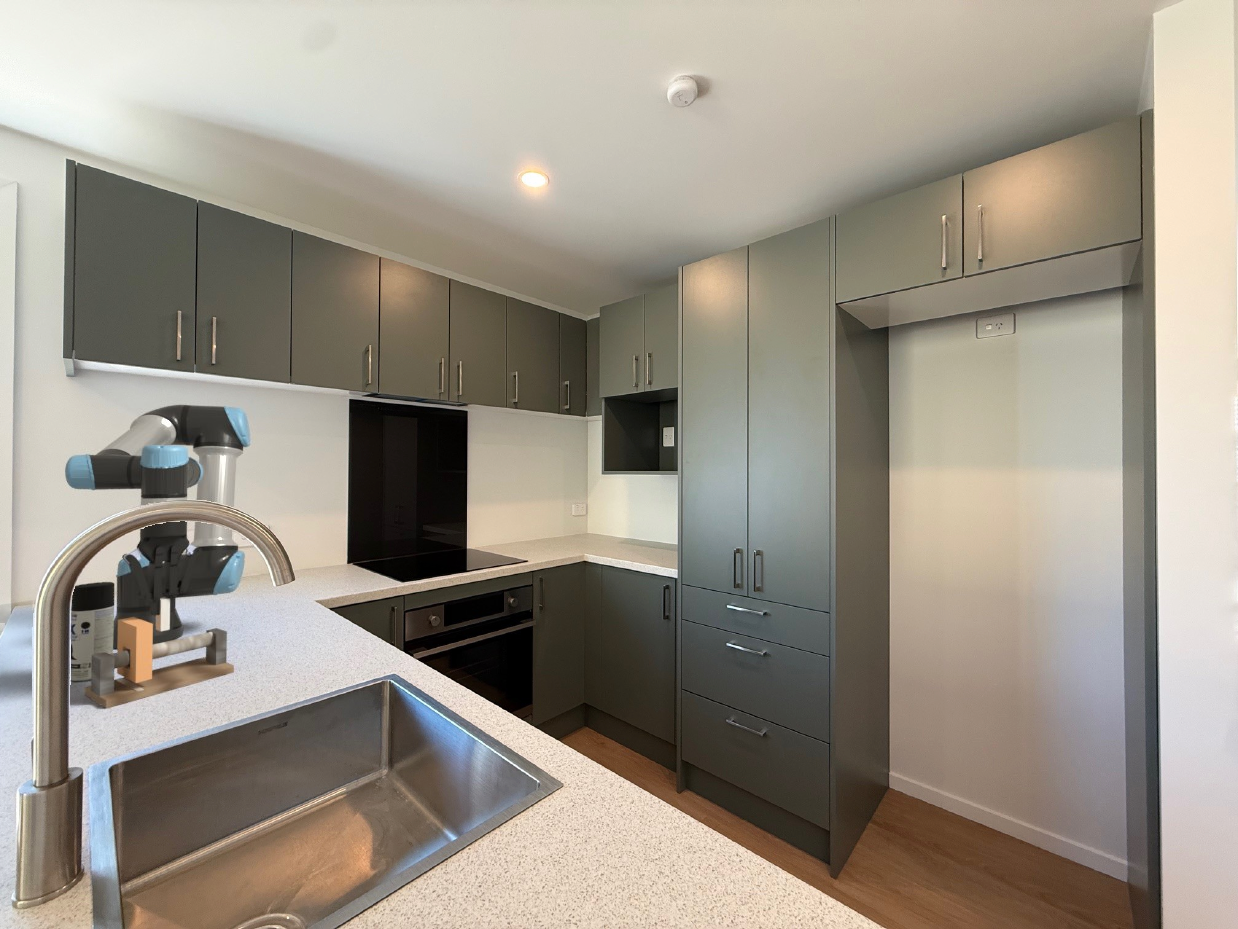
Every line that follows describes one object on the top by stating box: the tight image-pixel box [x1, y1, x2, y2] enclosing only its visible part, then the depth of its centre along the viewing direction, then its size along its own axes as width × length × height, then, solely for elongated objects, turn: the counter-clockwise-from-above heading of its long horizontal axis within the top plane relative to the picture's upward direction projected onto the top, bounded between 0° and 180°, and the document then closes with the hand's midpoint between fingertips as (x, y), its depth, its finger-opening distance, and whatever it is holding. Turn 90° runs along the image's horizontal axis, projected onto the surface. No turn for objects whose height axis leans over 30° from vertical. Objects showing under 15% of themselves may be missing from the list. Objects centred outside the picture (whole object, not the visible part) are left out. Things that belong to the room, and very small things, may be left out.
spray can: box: [70, 581, 115, 683], centre depth 114 cm, size 7×7×20 cm
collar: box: [116, 617, 153, 683], centre depth 107 cm, size 2×10×11 cm, turn 59°
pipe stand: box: [84, 627, 235, 709], centre depth 111 cm, size 21×12×9 cm, turn 149°
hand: (162, 629), depth 111 cm, fingers closed
